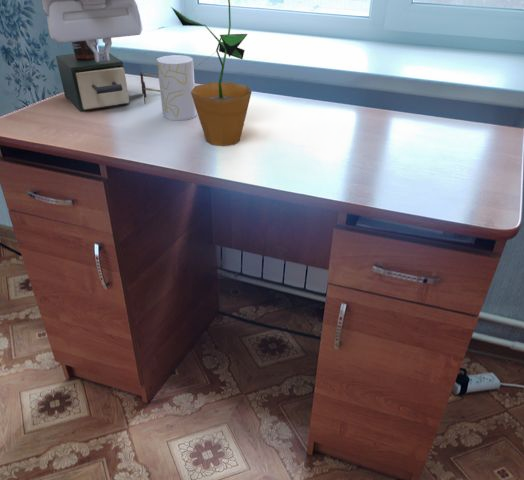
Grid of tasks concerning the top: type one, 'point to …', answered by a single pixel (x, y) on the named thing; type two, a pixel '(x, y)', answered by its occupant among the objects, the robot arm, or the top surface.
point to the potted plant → (221, 94)
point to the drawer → (102, 87)
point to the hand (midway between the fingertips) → (102, 61)
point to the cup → (176, 87)
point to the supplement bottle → (84, 50)
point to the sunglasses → (144, 85)
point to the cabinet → (68, 76)
